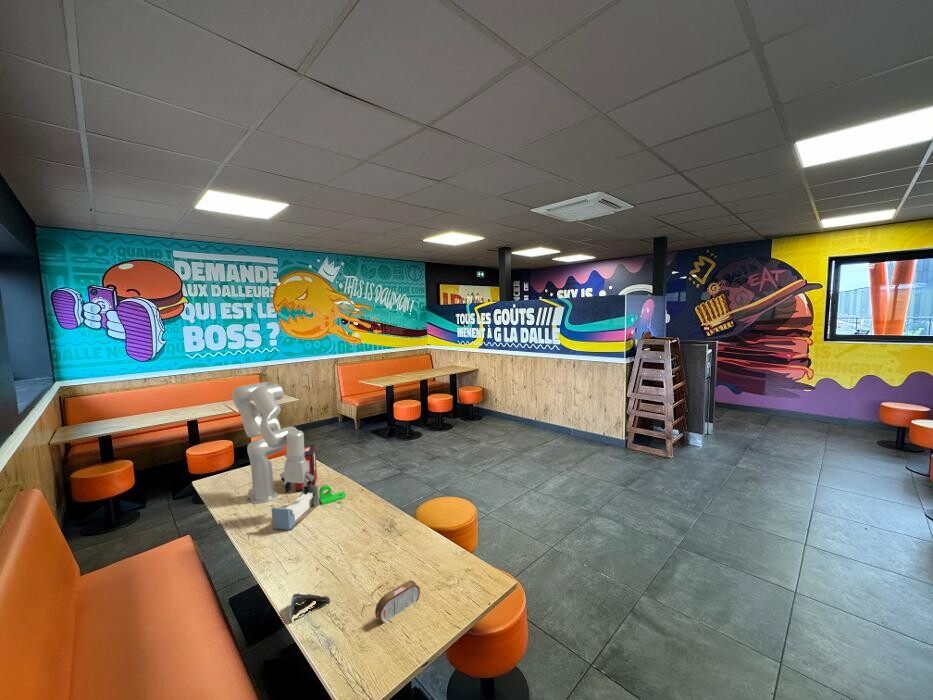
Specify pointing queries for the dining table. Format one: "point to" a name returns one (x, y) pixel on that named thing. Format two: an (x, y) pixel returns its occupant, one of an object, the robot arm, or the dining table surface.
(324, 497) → the mechanical part
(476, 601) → the dining table surface
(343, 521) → the dining table surface
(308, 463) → the cleaning product box
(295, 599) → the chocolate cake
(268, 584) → the dining table surface
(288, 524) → the sliding end cap
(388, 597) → the tin
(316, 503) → the endcap rack
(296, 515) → the slat
